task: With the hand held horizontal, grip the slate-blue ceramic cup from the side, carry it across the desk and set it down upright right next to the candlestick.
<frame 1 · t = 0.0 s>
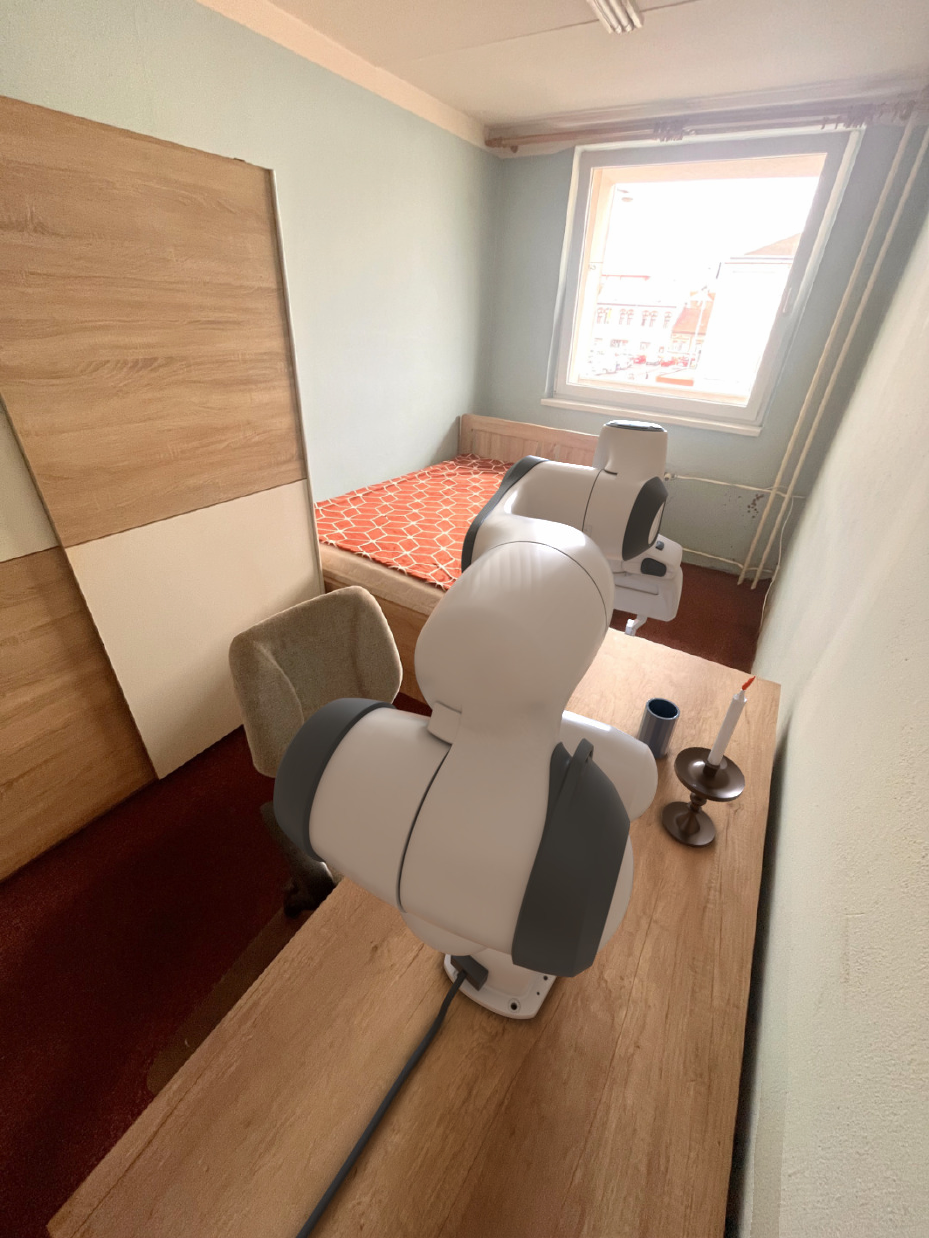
hand: (598, 625, 77), 39 cm above the table, tool pointing down, fingers open, 8 cm apart
candlestick: (686, 826, 92), on the table
cup: (650, 746, 108), on the table
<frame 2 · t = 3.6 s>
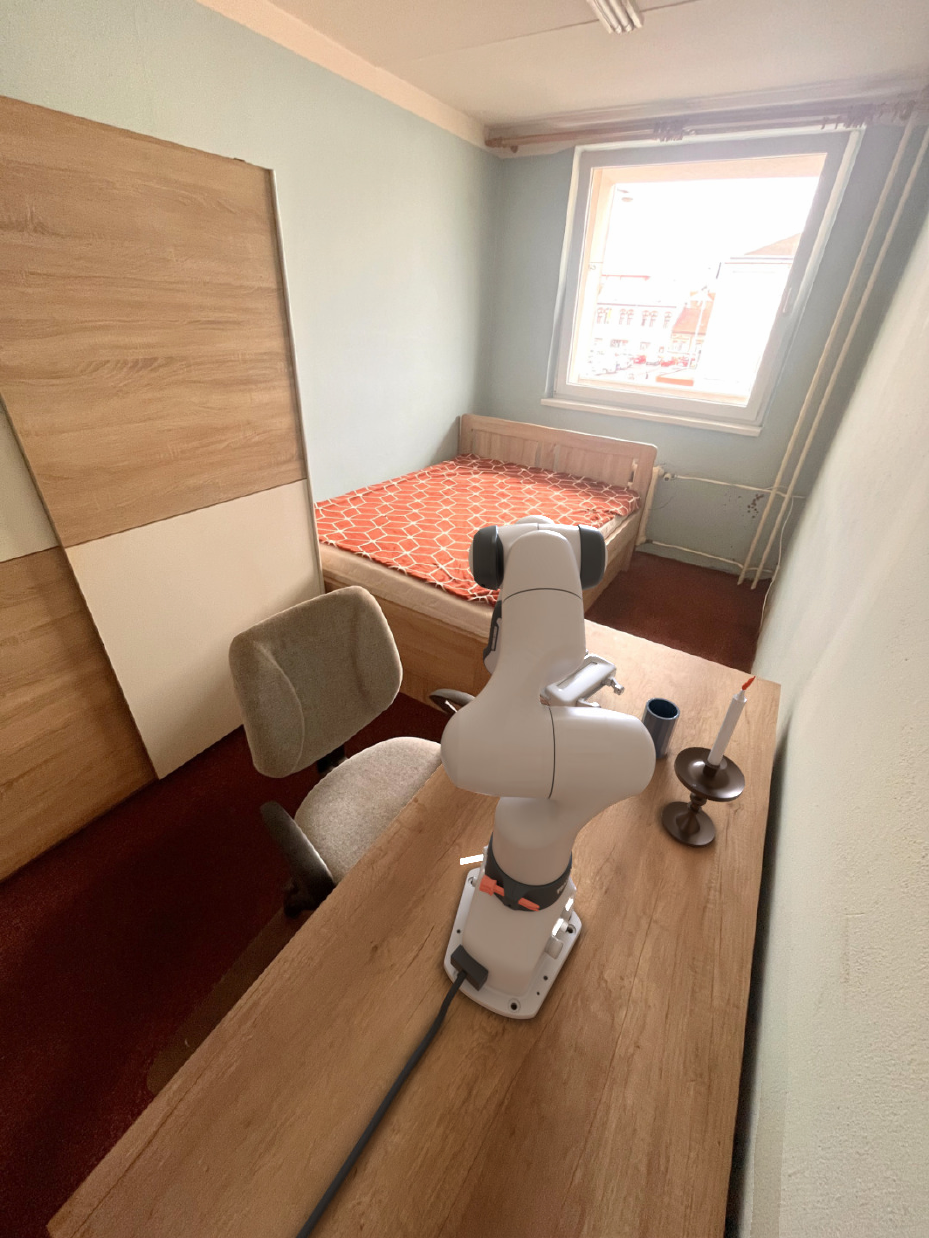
hand: (611, 701, 111), 6 cm above the table, tool horizontal, fingers open, 8 cm apart
nothing on the table moved.
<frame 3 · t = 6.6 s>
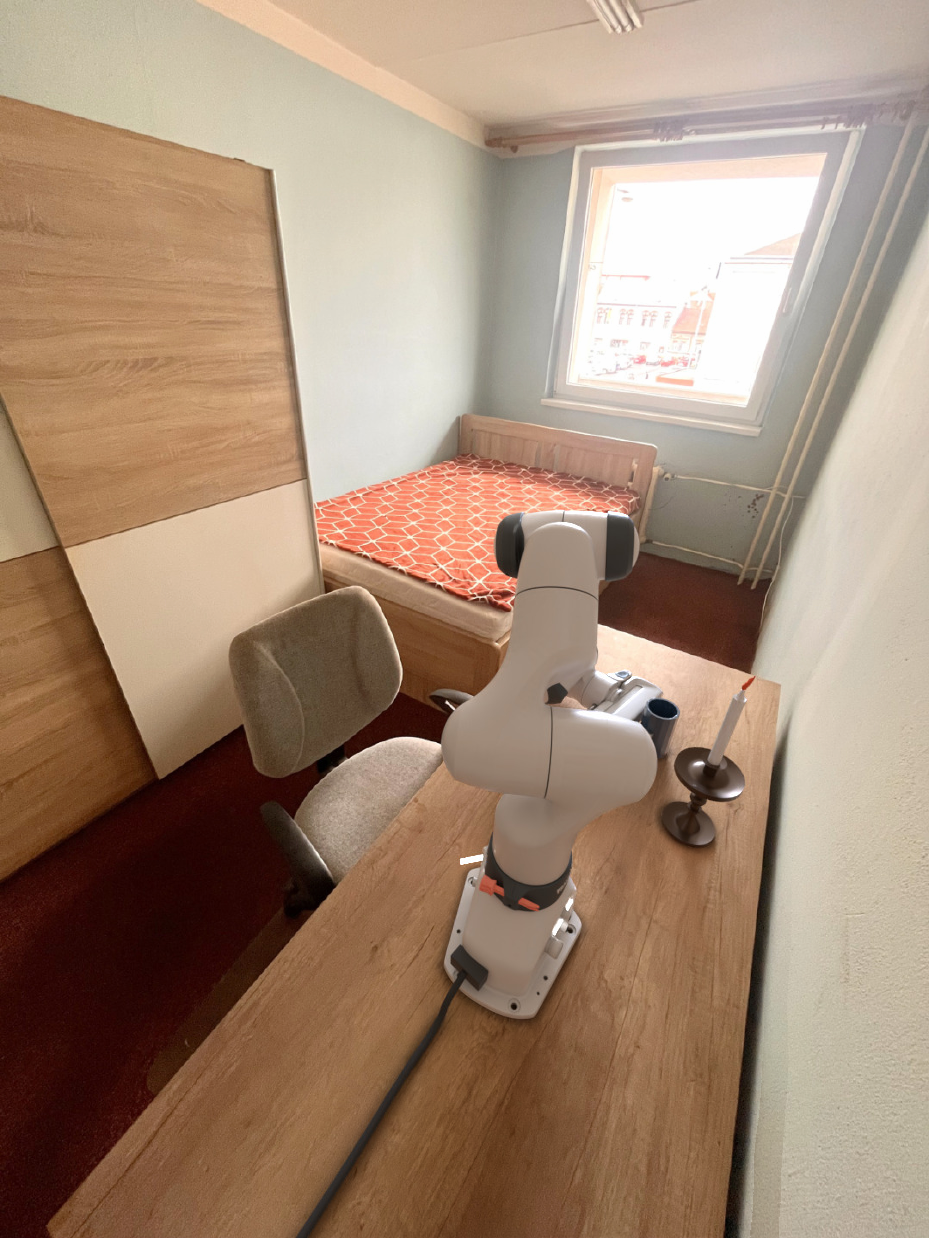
hand: (661, 728, 105), 6 cm above the table, tool horizontal, fingers closed on cup, 6 cm apart
cup: (650, 746, 108), on the table, touching gripper
everything else where it was.
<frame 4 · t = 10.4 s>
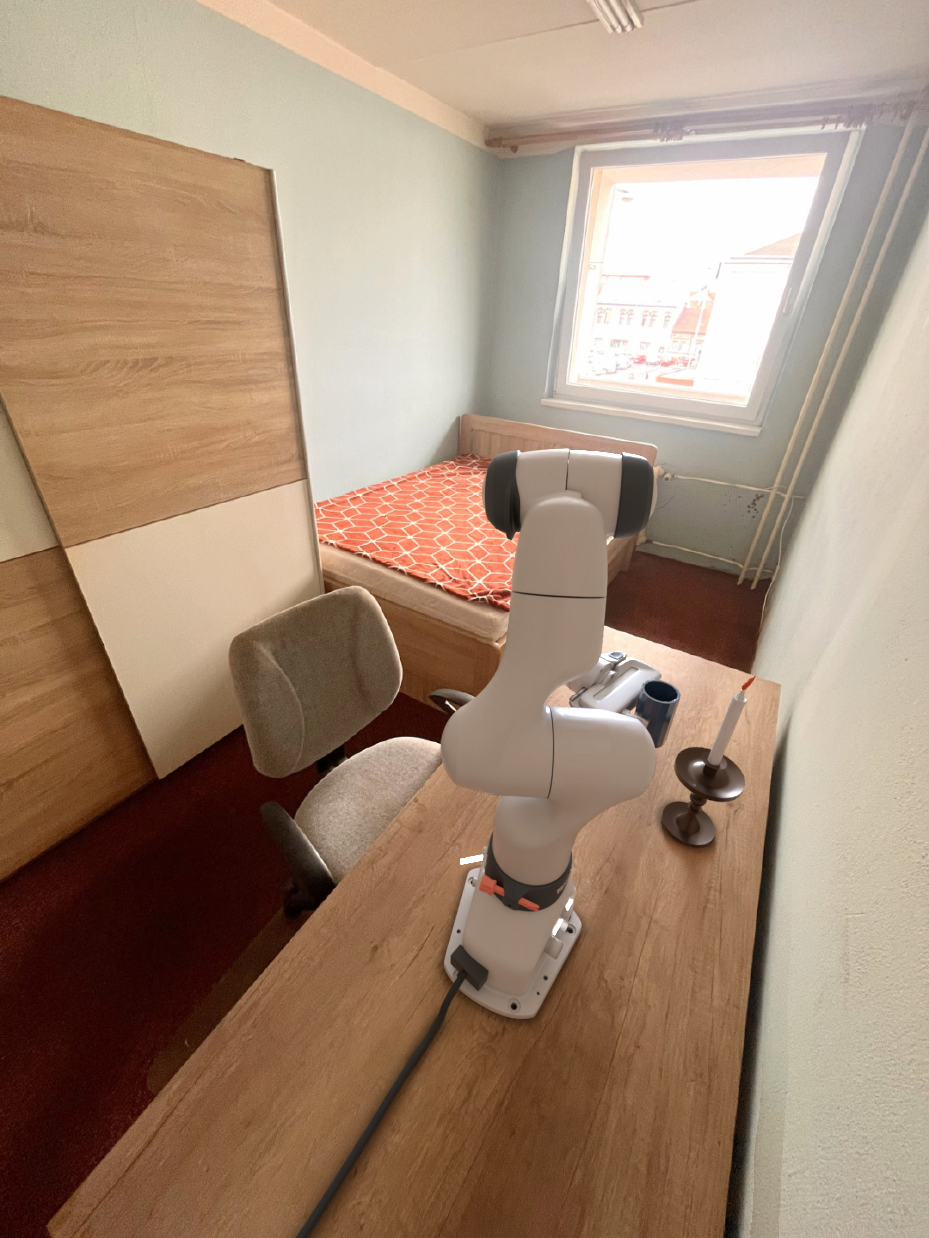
hand: (659, 714, 92), 17 cm above the table, tool horizontal, fingers closed on cup, 6 cm apart
cup: (647, 735, 96), point 11 cm above the table, touching gripper
everything else where it was.
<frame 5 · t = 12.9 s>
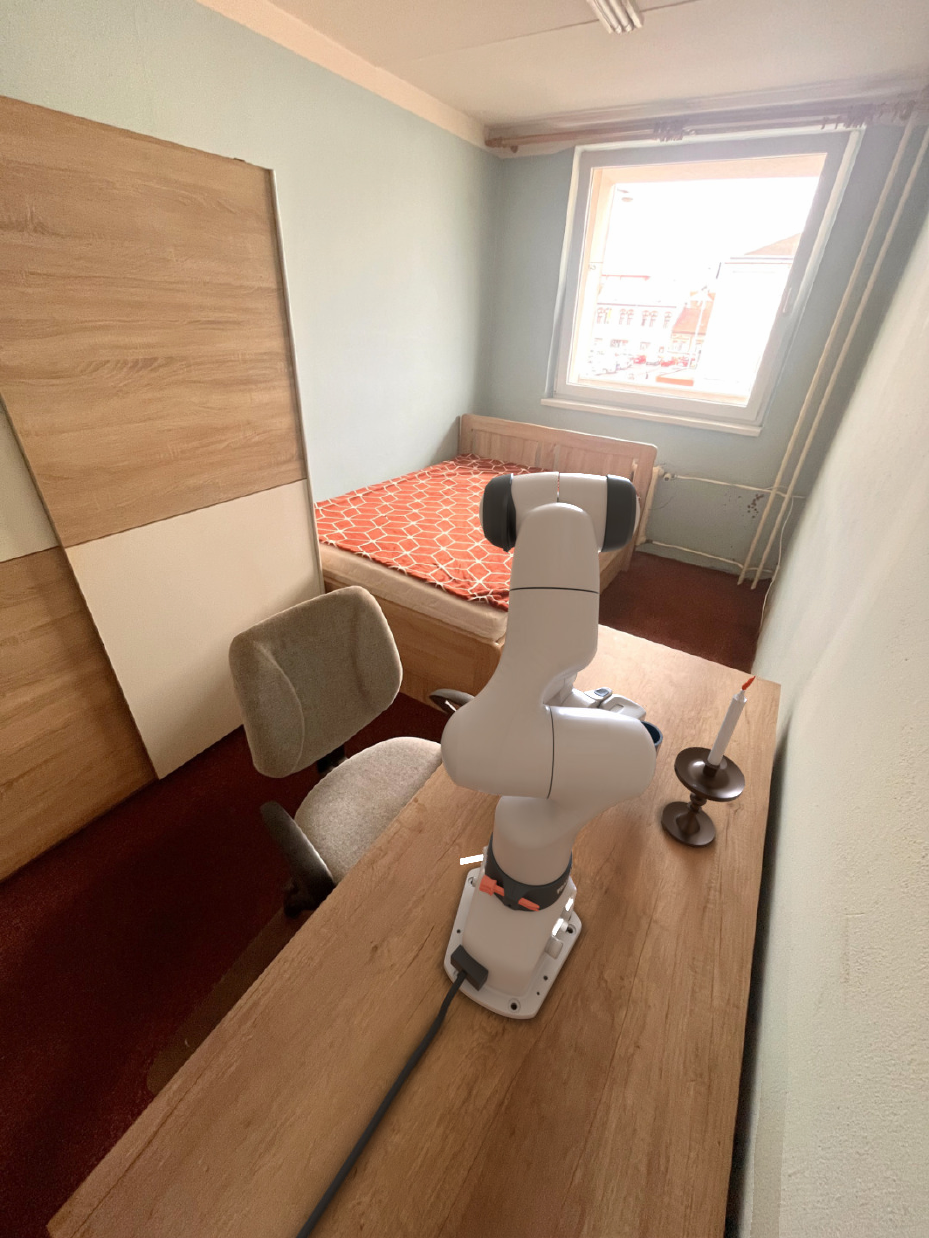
hand: (642, 754, 94), 9 cm above the table, tool horizontal, fingers closed on cup, 6 cm apart
cup: (631, 773, 98), point 3 cm above the table, touching gripper
everything else where it was.
when the fingers open (6 cm above the table, at t = 14.5 s): cup stays where it is, on the table.
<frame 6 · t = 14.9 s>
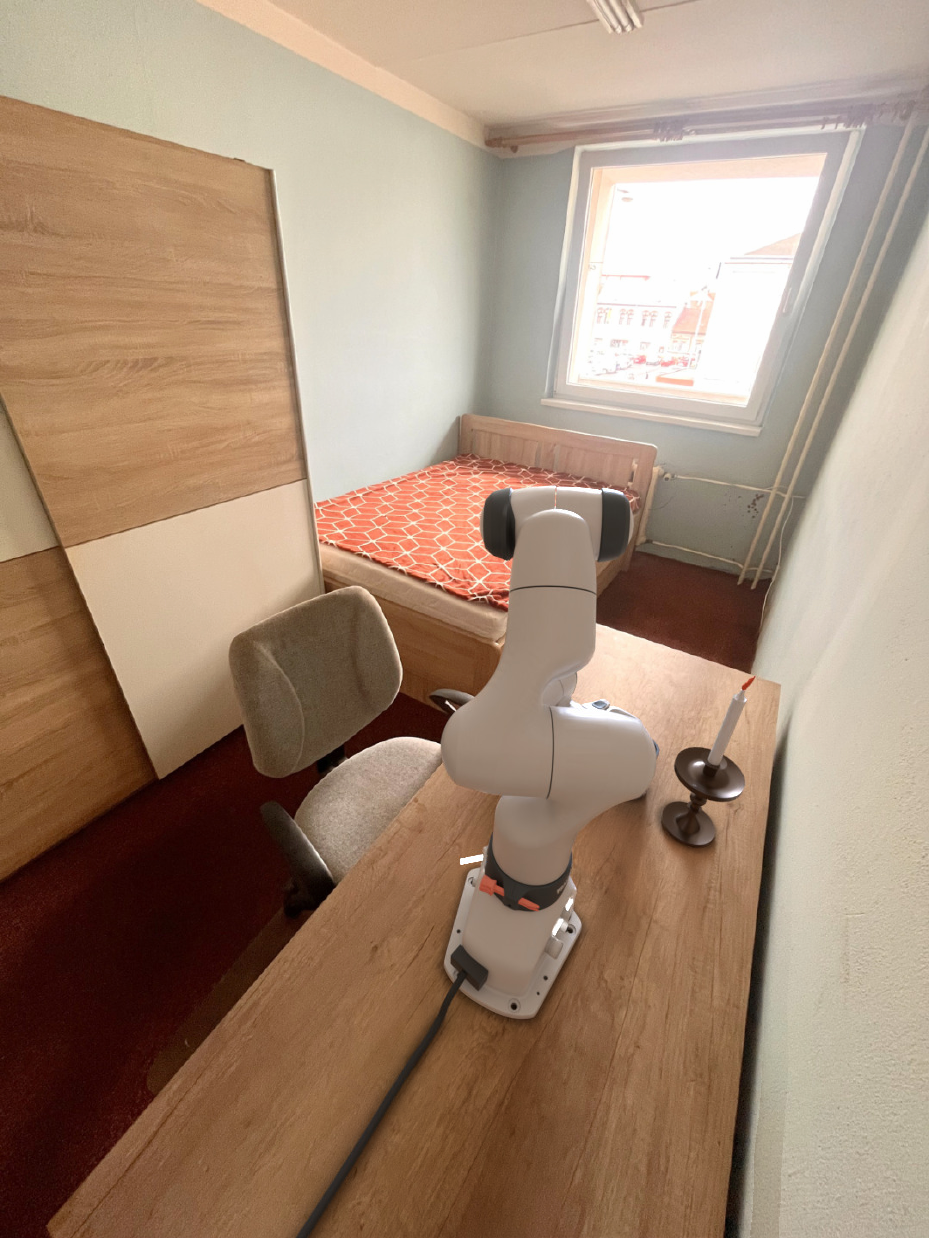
hand: (639, 767, 95), 6 cm above the table, tool horizontal, fingers open, 8 cm apart
cup: (628, 785, 99), on the table
everything else where it was.
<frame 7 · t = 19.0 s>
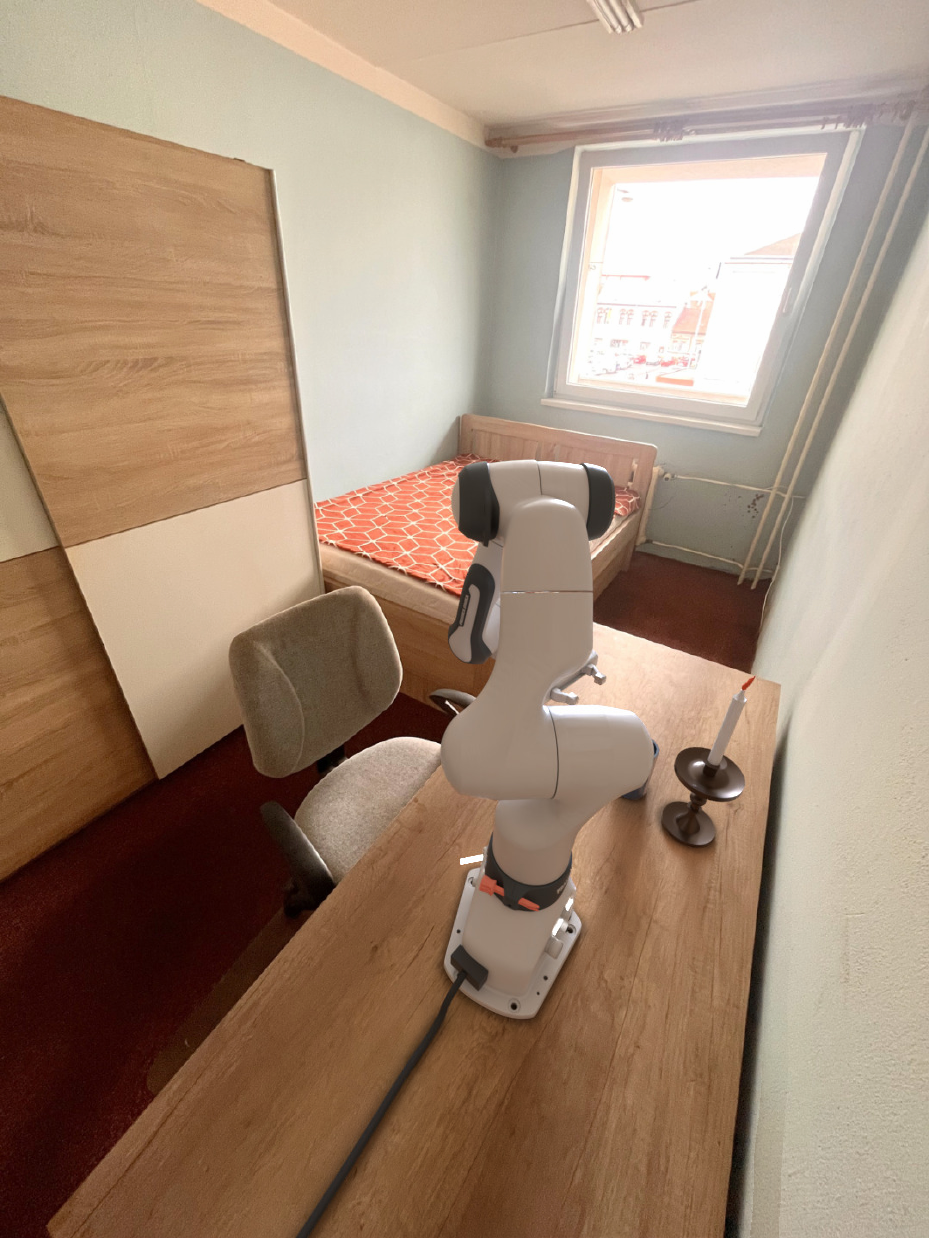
hand: (590, 691, 98), 17 cm above the table, tool horizontal, fingers open, 8 cm apart
nothing on the table moved.
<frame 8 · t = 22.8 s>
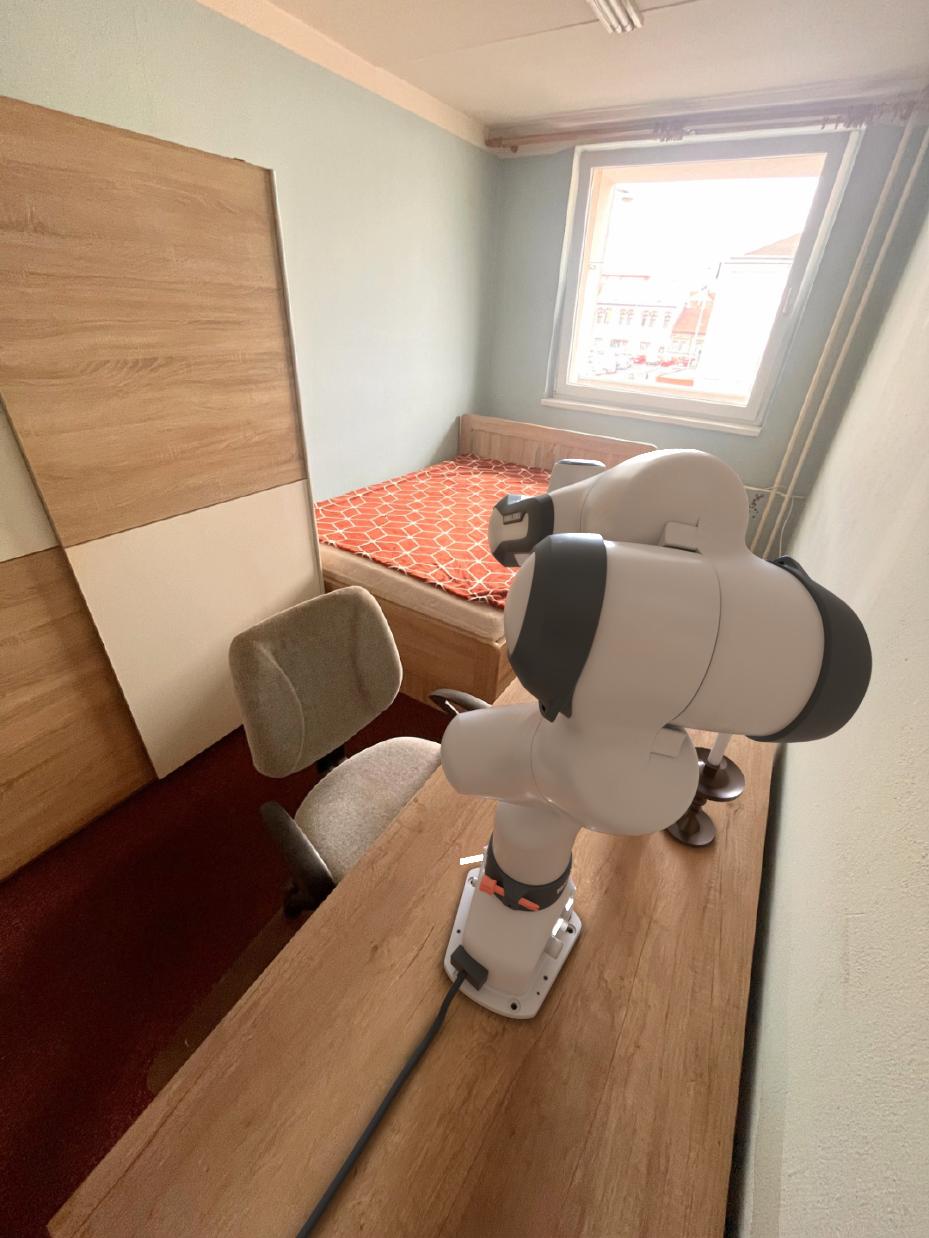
hand: (555, 631, 89), 31 cm above the table, tool pointing down, fingers open, 8 cm apart
nothing on the table moved.
at the end: cup 12.0 cm from the candlestick (horizontally); cup tilted 0°; candlestick moved 0.2 cm from its start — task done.
